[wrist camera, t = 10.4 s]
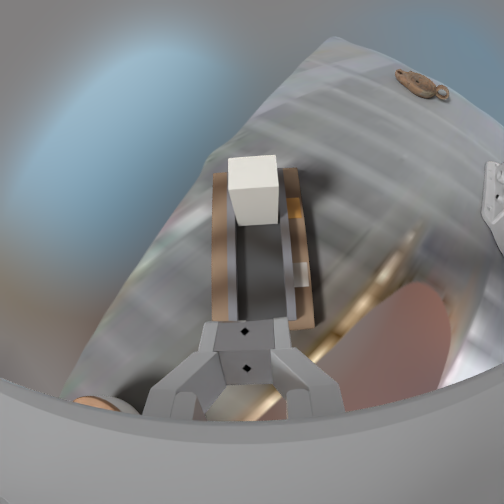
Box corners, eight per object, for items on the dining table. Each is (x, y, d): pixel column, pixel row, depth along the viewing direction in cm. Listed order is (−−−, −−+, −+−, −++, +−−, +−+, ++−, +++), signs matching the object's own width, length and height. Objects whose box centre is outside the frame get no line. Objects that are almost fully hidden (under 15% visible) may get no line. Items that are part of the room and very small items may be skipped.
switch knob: (277, 223, 36) (278, 186, 27) (238, 226, 36) (228, 189, 28) (275, 196, 37) (275, 154, 29) (237, 198, 37) (228, 158, 29)
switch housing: (312, 328, 34) (316, 326, 30) (215, 333, 34) (209, 332, 31) (296, 175, 41) (297, 161, 38) (215, 180, 41) (211, 167, 38)
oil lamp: (389, 85, 48) (395, 68, 43) (396, 72, 50) (401, 57, 45) (441, 114, 45) (450, 98, 40) (444, 99, 46) (452, 84, 42)
